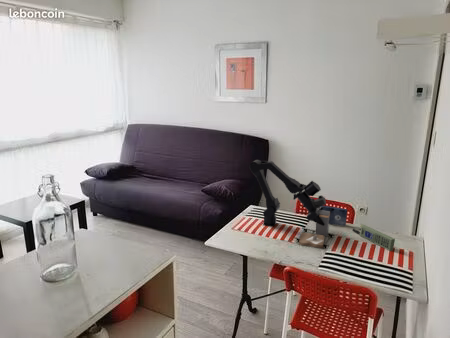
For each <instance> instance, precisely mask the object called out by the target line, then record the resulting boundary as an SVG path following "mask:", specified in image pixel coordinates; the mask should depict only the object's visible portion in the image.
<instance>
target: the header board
mask: <svg viewBox="0 0 450 338" xmlns="http://www.w3.org/2000/svg"><path fill="white" fill-rule="evenodd" d="M324 242H325V236H324V235H317V234H315V233H308V232H301V234H300V237H299V241H298V245H299V246H305V245H306V247H313V248H320V249H324Z"/></svg>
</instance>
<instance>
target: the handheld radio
mask: <svg viewBox="0 0 450 338" xmlns="http://www.w3.org/2000/svg"><path fill="white" fill-rule="evenodd" d="M352 231H353V232H354V233H356V234H358V235H359V237H361V238H363V239H365V240H367V241H370V242H371V243H373V244H375V245H377V246H379V247H380V248H383V249H386V250H387V251H389V252H393V251H394V246H395V243H396V242H395V241H396V239H395V238H394V237H392V236H390V235H388V234H385V233H383V232H381V231H379V230H376V229H375V228H373V227H371V226H368V225H366V224H362V223H360V228H359V230H357V229H355V228H352Z"/></svg>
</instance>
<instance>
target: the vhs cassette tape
mask: <svg viewBox="0 0 450 338" xmlns="http://www.w3.org/2000/svg"><path fill="white" fill-rule="evenodd" d="M320 207H322V206H320ZM323 210H324V211H330V218H329V225H334V226H340V227H346V225H347V216H348V208H341V207H333V206H328V205H323Z"/></svg>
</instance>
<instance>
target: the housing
mask: <svg viewBox="0 0 450 338" xmlns="http://www.w3.org/2000/svg"><path fill="white" fill-rule="evenodd" d="M318 213H320V218H321V219H322V221H323V222H324V224H325V225H324V226H322V225H320V224H318V223H316V222H315V231H314V232H315V233H314V234H317V235H324V237H325V236H326V237H327V236H328V234H329V231H330V230H329V229H330V224H329V218H330V211H324V210H319V211H318ZM326 237H325V238H326Z"/></svg>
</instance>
